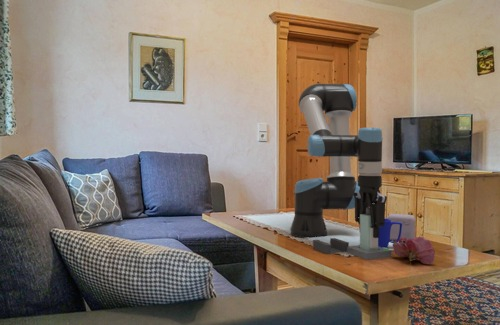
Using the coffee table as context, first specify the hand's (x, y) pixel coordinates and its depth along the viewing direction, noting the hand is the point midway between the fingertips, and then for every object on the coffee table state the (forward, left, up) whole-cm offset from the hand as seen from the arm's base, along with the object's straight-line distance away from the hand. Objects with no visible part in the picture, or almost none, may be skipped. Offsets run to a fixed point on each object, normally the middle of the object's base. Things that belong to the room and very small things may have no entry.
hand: (368, 245), depth 129 cm
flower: (+11, +8, -4) cm, 14 cm away
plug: (0, 0, -2) cm, 2 cm away
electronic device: (-14, +28, -4) cm, 32 cm away
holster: (-10, -8, -4) cm, 13 cm away
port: (0, 0, -4) cm, 4 cm away
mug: (-8, +14, -4) cm, 17 cm away
